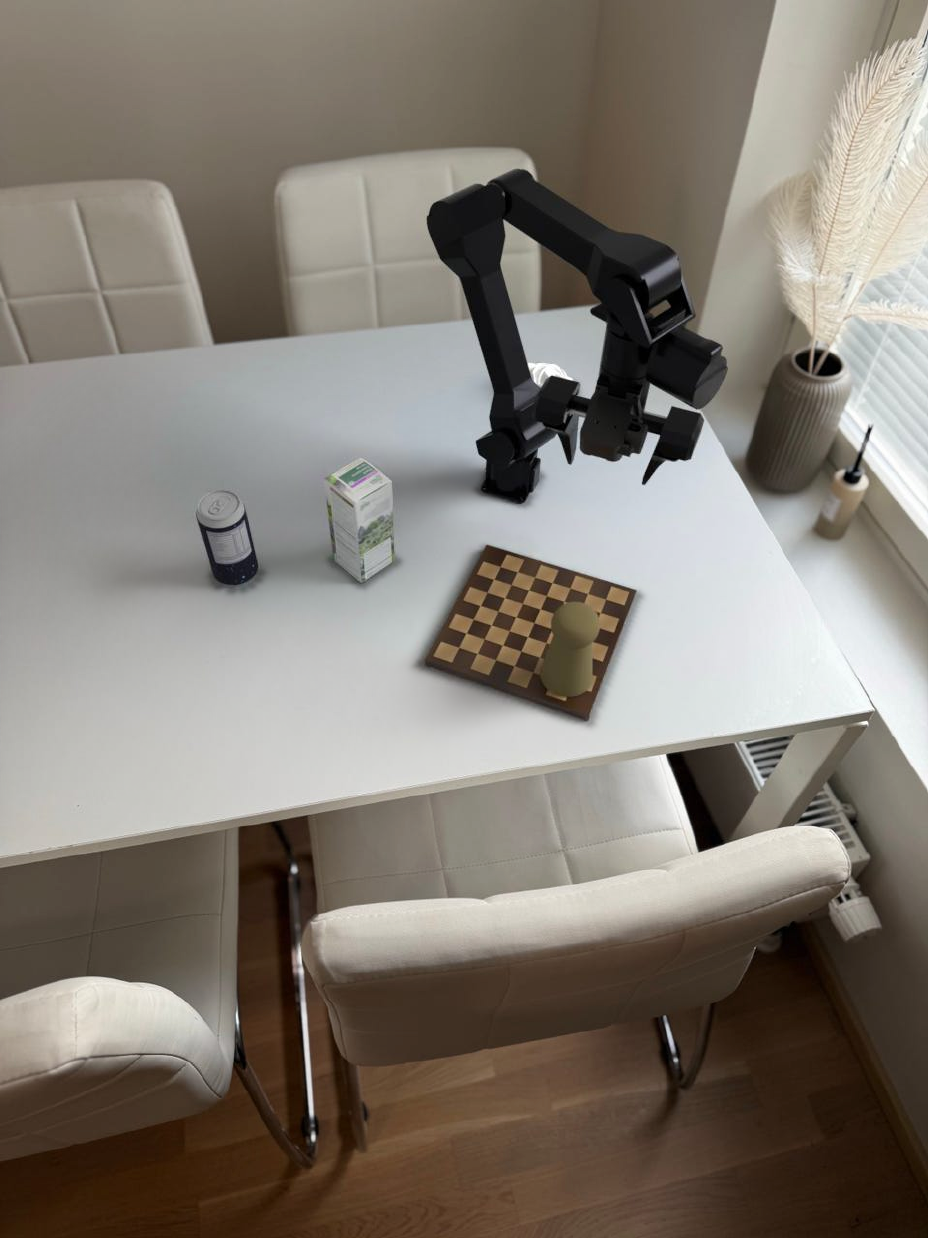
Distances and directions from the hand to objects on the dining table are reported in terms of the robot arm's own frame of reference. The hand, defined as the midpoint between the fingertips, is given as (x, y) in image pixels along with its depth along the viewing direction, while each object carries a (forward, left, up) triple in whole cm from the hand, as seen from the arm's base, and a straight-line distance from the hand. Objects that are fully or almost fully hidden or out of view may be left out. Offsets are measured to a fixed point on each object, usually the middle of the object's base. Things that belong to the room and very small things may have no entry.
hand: (607, 472), depth 111 cm
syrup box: (-26, -15, -12) cm, 32 cm away
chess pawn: (+3, -23, -11) cm, 26 cm away
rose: (-16, +27, -12) cm, 34 cm away
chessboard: (-3, -17, -12) cm, 21 cm away
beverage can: (-40, -23, -12) cm, 48 cm away
